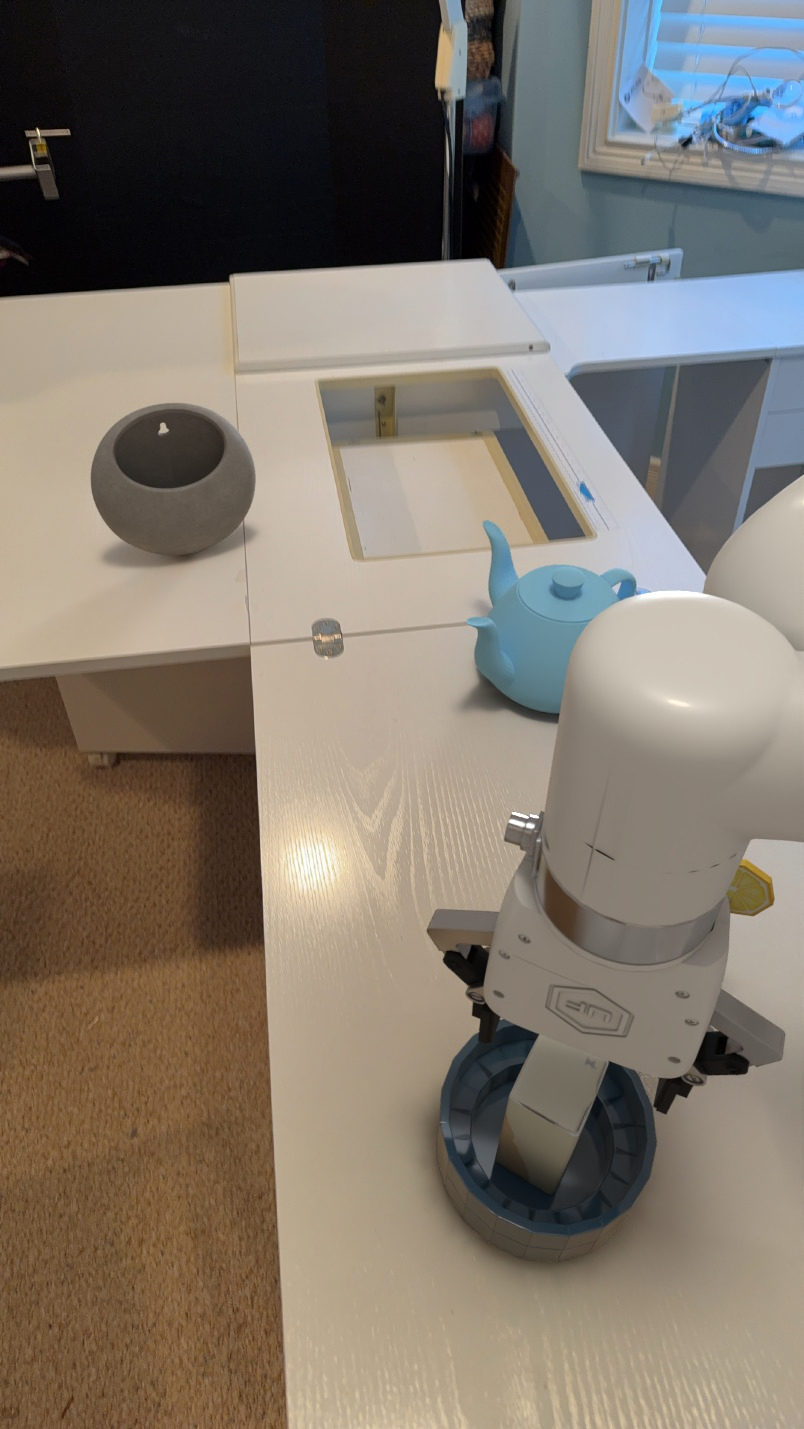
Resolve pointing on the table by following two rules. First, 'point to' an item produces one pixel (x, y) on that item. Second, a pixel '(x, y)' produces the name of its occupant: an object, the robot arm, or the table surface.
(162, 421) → the planter
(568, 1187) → the round ribbed tray
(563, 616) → the teapot
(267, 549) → the table surface
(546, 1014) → the robot arm
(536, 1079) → the box
